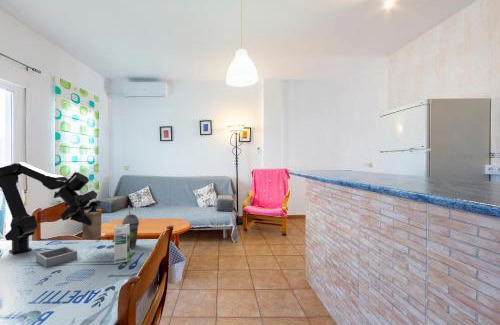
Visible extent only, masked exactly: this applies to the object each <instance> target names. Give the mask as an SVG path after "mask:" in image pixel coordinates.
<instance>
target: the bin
mask: <svg viewBox="0 0 500 325" xmlns="http://www.w3.org/2000/svg"><path fill="white" fill-rule="evenodd" d="M75 259H78V251H77V250H76V249H73V248H72V247H69V246H67V245H65V246H62V247H58V248H53V249H49V250H46V251H40V252H37V253H36V254H35V261H36V262H37V263H38V264H40V265H42V266H43V267H44V268H47V267H52V266H54V265H59V264H62V263H66V262H69V261H72V260H75Z"/></svg>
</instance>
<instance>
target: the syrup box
mask: <svg viewBox="0 0 500 325" xmlns="http://www.w3.org/2000/svg"><path fill="white" fill-rule="evenodd" d="M113 229H114V230H113V236H114V237H113V239H114V242H113V243H114V244H113V245H114V249H113V250H114V253H113V256H114V257H113V258H114V259H113V264H114V265H115V264H120V263H126V262H130V258H131V257H130V256H131V253H130V252H131V251H130V250H131V248H130V226H129V224H125V225H123V224H118V225H117V224H115V225H114V228H113Z"/></svg>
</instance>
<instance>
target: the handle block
mask: <svg viewBox="0 0 500 325" xmlns="http://www.w3.org/2000/svg"><path fill="white" fill-rule="evenodd" d="M84 214H85V215H86V216H87V218H88V219H89V220H90V222H91V223H92V224H91V225H87V224H84V223H82V240H90V241H91V240H95V239H98V238H100V237H102V212H101V211H97V212H89V213H87V212H84Z"/></svg>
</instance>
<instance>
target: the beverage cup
mask: <svg viewBox="0 0 500 325" xmlns="http://www.w3.org/2000/svg"><path fill="white" fill-rule="evenodd" d="M127 209H128V214H127V215H126V216H125V217H124V218H123V220H122V224H121V225H125V224H129V226H130V232H131V233H132V234H133V235H134V236H132V237H130V249H134V248H136V247H137V240H138V228H139V226H140V225H139V224H140V220H139V218H138V216H137V215H135V214H131V211H130V210H131V208H130V205H127Z"/></svg>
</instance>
